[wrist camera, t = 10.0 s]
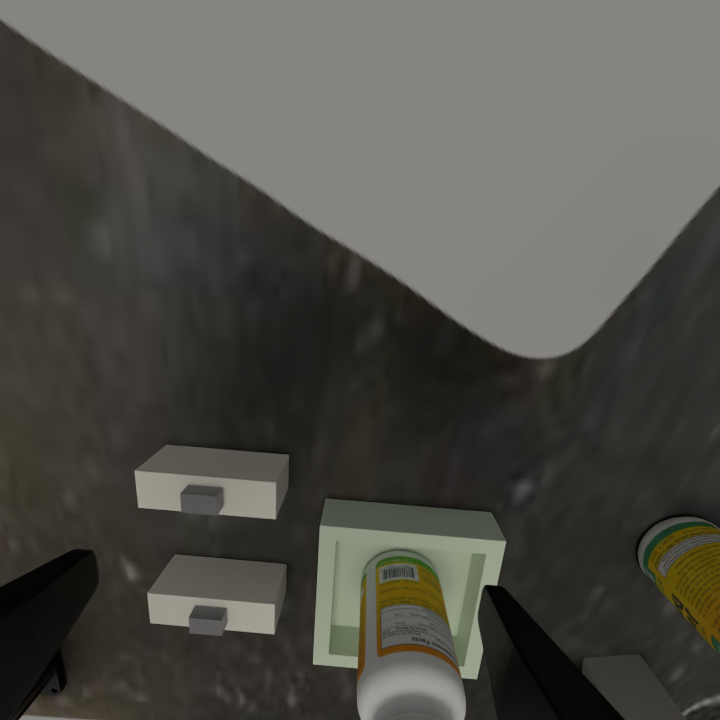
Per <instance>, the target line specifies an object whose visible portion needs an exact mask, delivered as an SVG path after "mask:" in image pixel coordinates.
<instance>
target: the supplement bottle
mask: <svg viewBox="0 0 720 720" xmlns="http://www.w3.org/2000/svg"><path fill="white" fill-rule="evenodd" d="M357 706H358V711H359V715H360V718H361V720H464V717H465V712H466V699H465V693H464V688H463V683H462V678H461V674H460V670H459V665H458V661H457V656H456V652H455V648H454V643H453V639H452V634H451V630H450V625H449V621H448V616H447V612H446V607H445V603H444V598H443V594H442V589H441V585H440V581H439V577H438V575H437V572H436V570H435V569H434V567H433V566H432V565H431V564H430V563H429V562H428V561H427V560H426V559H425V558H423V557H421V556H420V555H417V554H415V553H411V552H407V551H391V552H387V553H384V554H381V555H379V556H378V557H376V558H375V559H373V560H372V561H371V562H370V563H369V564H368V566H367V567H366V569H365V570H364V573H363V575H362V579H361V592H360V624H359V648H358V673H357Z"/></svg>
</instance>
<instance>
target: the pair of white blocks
mask: <svg viewBox="0 0 720 720" xmlns="http://www.w3.org/2000/svg"><path fill="white" fill-rule="evenodd" d="M135 480H136V490H137V499H138V508H149V509H161V510H172V511H181V513H192V514H204V515H216V516H218V514H219V515H231V516H243V517H254V518H266V519H276V517H277V515H278V512H279V510H280V507H281V505H282V502H283V500H284V497H285V495H286V492H287V490H288V485H289V455H286V454H274V453H261V452H249V451H237V450H225V449H213V448H201V447H188V446H176V445H166V446H164V447H163V448H162V449H161V450H159V451H158V452H157V453H156V454H155V455H153V456H152V457H151V458H150V459H148V460H147V461H146V462H145V463H143V464H142V465H141V466H140V467H139V468H137V469H136V470H135ZM286 574H287V564H281V563H269V562H258V561H246V560H235V559H223V558H212V557H200V556H189V555H177V554H175V555H174V556H173V558H172V559H171V561H170V562H169V563H168V565H167V566H166V568H165V569H164V570H163V572H162V573H161V575H160V576H159V577H158V579H157V580H156V582H155V583H154V584H153V586H152V587H151V589H150V590H149V591H148V593H147V595H148V605H149V615H150V623H155V624H166V625H177V626H188V627H189V632H190V633H194V634H205V635H216V636H222V635H223V632H224V630H232V631H243V632H254V633H265V634H275V630H276V626H277V623H278V619H279V615H280V612H281V608H282V604H283V601H284V597H285V593H286Z"/></svg>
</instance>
